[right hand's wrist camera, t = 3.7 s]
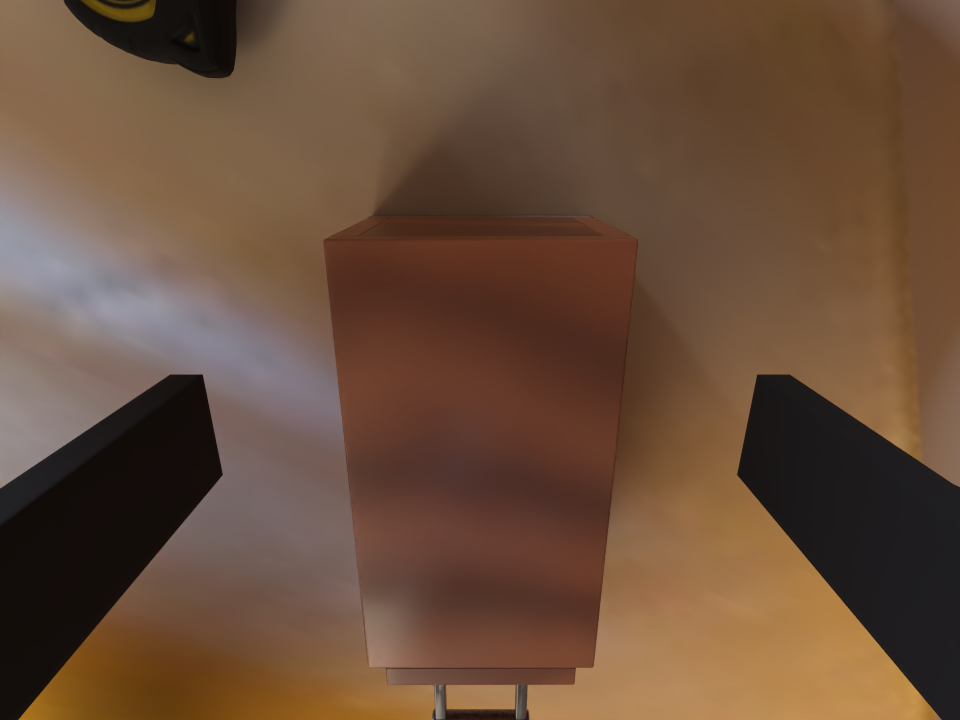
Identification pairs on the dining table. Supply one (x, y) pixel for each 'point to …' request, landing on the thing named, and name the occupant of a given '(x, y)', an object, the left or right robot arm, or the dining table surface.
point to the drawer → (480, 676)
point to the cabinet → (480, 430)
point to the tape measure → (167, 30)
